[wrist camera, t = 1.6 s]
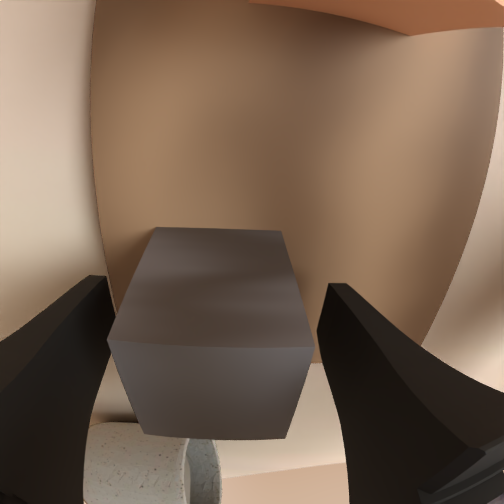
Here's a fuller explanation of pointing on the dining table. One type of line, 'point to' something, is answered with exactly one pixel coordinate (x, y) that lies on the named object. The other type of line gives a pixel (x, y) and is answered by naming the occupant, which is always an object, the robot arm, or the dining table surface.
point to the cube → (409, 13)
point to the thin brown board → (274, 192)
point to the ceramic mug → (148, 467)
